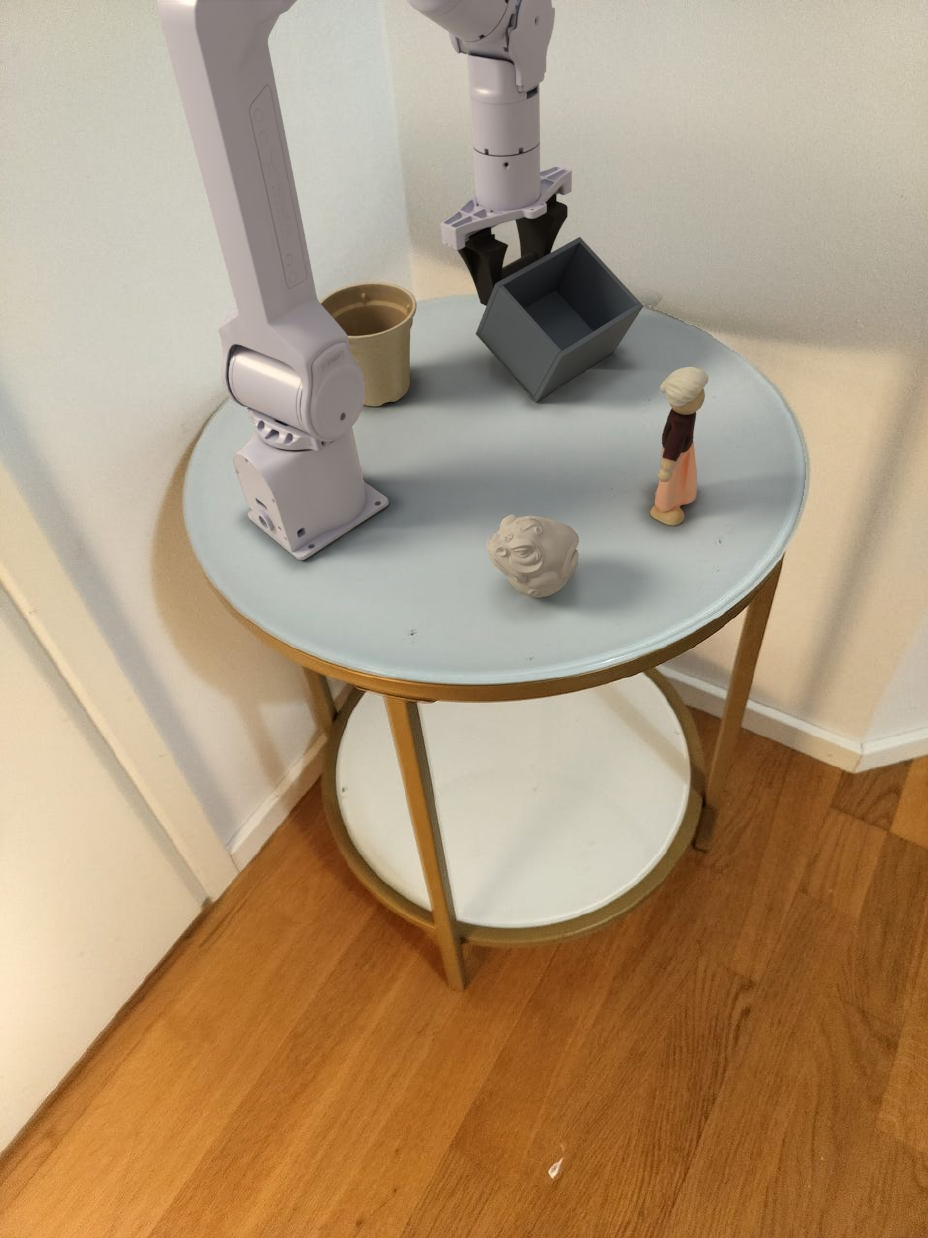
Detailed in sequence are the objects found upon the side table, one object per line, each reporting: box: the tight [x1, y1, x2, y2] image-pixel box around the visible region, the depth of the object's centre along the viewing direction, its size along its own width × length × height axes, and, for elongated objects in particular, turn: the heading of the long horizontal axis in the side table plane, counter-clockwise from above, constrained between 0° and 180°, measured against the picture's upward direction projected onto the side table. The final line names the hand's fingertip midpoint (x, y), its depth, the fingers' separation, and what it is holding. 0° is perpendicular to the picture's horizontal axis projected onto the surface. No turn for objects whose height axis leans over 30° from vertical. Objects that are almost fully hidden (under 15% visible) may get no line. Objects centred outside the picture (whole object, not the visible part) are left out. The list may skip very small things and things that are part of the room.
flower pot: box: [319, 281, 418, 407], centre depth 82 cm, size 9×9×9 cm
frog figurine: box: [486, 513, 580, 598], centre depth 64 cm, size 6×7×7 cm
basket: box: [475, 236, 644, 403], centre depth 81 cm, size 11×12×7 cm
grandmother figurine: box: [649, 366, 709, 527], centre depth 66 cm, size 8×4×13 cm, turn 171°
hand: (511, 292), depth 84 cm, fingers closed on basket, 5 cm apart
